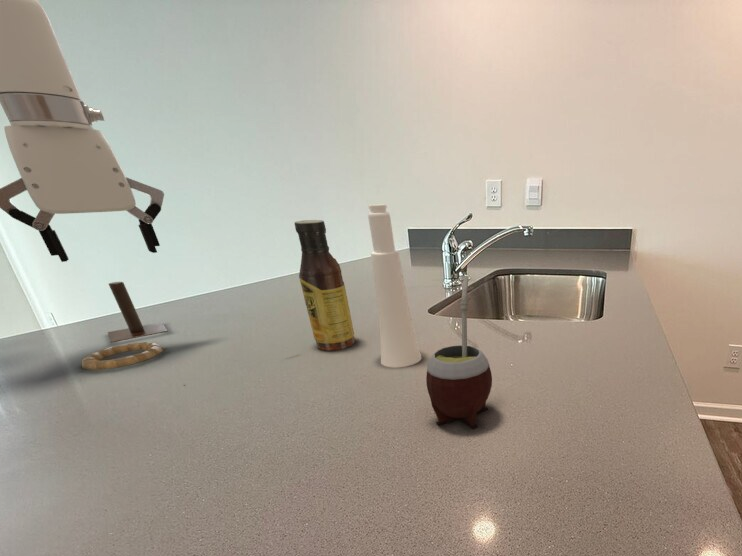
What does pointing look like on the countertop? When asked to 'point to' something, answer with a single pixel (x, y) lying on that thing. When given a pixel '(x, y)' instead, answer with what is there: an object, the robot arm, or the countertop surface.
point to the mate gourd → (459, 378)
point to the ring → (95, 363)
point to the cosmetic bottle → (391, 294)
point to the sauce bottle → (323, 289)
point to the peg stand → (130, 317)
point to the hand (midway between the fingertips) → (111, 256)
